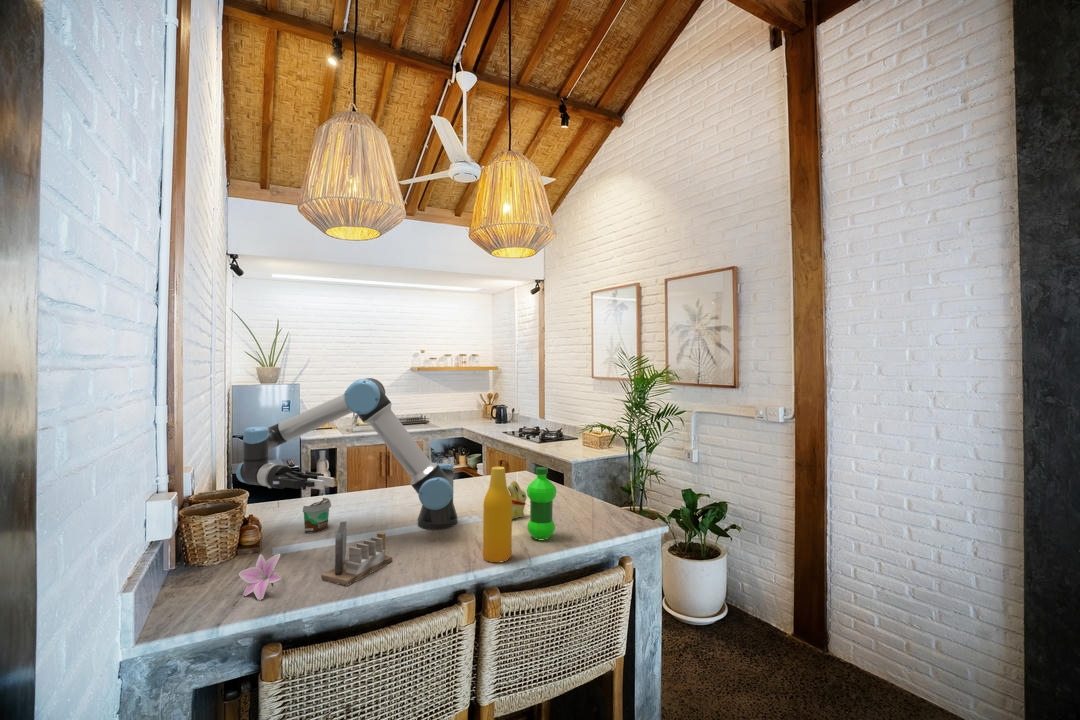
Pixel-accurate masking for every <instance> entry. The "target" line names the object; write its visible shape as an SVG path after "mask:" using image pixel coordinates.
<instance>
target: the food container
mask: <svg viewBox="0 0 1080 720" xmlns="http://www.w3.org/2000/svg"><path fill="white" fill-rule="evenodd" d="M331 507H332V501H331V499H330V498H327V497H322V500H320V501H317V502H313V503H312V504H310V505H303V508H302V513H303V522H304V533H305V532H314V533H319V532H318V531H320V532H323V531H325V530H327V529H328V523H329V515H330V508H331ZM326 528H327V529H326ZM324 529H325V530H324ZM322 530H323V531H322Z"/></svg>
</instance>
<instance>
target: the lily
mask: <svg viewBox="0 0 1080 720" xmlns="http://www.w3.org/2000/svg"><path fill="white" fill-rule="evenodd" d="M280 557H281V553H277V554H275V555H272V556H271V557H269V558H268V559H267V560H266V559H265V557H264V555H263V554H259V556H258V558H257V561H256V564H255V566H252V567H248V568H246V569H243V570H241V571H239V572H238V576H239V577H240V578H241V579H242V580H243V581H244V582H245V583H248V584H247V585H246V587H245V589H244V591H243V594H242V596H243V595H245V597H246V596H248V595H250V594H251V593H254V595H255V597H256V599H257V600H258V599H264V596H265V594H266V590H267V588H268V584H271V586H272V587H274V584H273V583H275V582H277V581H280V580H282V577H281V576H280V575H279V574H278V573H277V572H275V571H274V570H275V567H276V565H277V563H278V561H279V559H280Z"/></svg>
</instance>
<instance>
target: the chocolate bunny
mask: <svg viewBox="0 0 1080 720" xmlns="http://www.w3.org/2000/svg"><path fill="white" fill-rule="evenodd" d="M507 489H508V491H509V493H510V496H511V499H512V520H515V519H514V518H516V519H519V518H518V517H521V518H523V517H524V516H525V513H524V511H525V506H526V500H527V497H528V495H527V494H526V493H527V492H525V490H523V489H521V487H520V485H519V483H518V482H517V481H516V480H513V481H512V482H511V483H510V484H509V485H508V486H507ZM522 516H523V517H522Z"/></svg>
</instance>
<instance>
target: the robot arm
mask: <svg viewBox="0 0 1080 720" xmlns="http://www.w3.org/2000/svg"><path fill="white" fill-rule="evenodd" d="M343 392H344V393H343V394H341V395H338V396H337V397H334V398H333V399H330V400H328V401H325V402H323V403H321V404H319V405H317V406H314V407H312V408H310V409H307V410H305V411H303V412H300V413H298V414H296V415H294V416H291V417H290V418H287V419H285V420H283V421H281V422H278V423H276V424H273V425H271V426H269V427H267V426H258V425H257V426H251V427H246V428H245V429H244V431H243V437H242V440H243V460H242V462H241V463H239V464H238V466H237V469H236V471H235V476H236V478H237V479H238V481H239V482H241V483H244V484H247V485H255V486H262V487H267V488H268V489H273V488H274V489H279V490H282V489H285V488H289V489H296V490H298V489H300V488H301V490H302V491H306V490H307V489H308V488H309V489H316V490H321V491H323V490H325V487H331V488H334V487H335V477H330V476H325V474H324V473H322V472H313V471H309V470H304V471H303V472H302V471H297V470H293V469H292V468H291V467H290V466H288V465H283V464H278V463H269V459H270V458H269V454H270V453H269V451H270V450H272V449H275V448H276V447H280V445H283V444H286V443H287V442H290V441H291V440H294V439H296V438H299V437H301V436H303V435H305V434H307V433H310V432H311V431H315V430H317V429H319V428H321V427H323V426H326V425H327V424H328V425H329V423H331V422H334V421H337V420H338V419H341V418H343V417H345V416H348V415H349V414H352V413H353V414H356V415H357V416H358V418H359V419H360V420H361V421H362V422H363V424H366V425H368V424H369V425H370V426H371V427H372V428H373V430H374V431H375V432H376V434H377V435H378V436H379V437H380V439H381V440H382V441H383V442H384V444H385V445H386V447H387V448H388V449H389V451H390V452H391V453H392V455H393V457H395V458H396V460H397V461H398V462H399V463H400V465H401V466H402V468H403V470H405V472H406V473H407V474H408V475H409V477H410V478H411V479H410V485H411V487H412V489H414V491H415V492H416V493H417V495H418V500H419V502H420V503H421V505H422V506H421V508H420V511H419V515H418V516H417V526H418V527H419V528H422V529H426V530H444V529H450V528H452V527H455V526H456V525H457V524H458V522H459V521H458V518H459V517H458V513H457V511H456V507H455V505H454V504H455V503H454V473H455V469H454V465H453V463H443V462H442V463H436V462H432V461H431V460H430V459H429V458H428V457H427V455H426V454H425V452H424V451H423V450H422V448H421V447H420V446H419V444H418V443H417V442H416V440H415V439H414V438H413V437H412V435H411V434H410V432H409V431H408V430H407V429H406V427H405V426H404V425H403V423H402V422H401V421H400V419H399V418H398V417H397V415H395V413H394V412H393V410H392V402H391V400H390V399H389V398H388V396H387V395H386V388H385V386H384V385H383V383H382V382H380V381H379V380H378V379H375V378H372V377H370V378H369V377H367V378H360V379H357V380H355V381H353V382H352V383H351V384H350V385H349V386H348V387H347V388H346V390H345V391H343ZM454 525H455V526H454ZM449 527H450V528H449Z"/></svg>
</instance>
